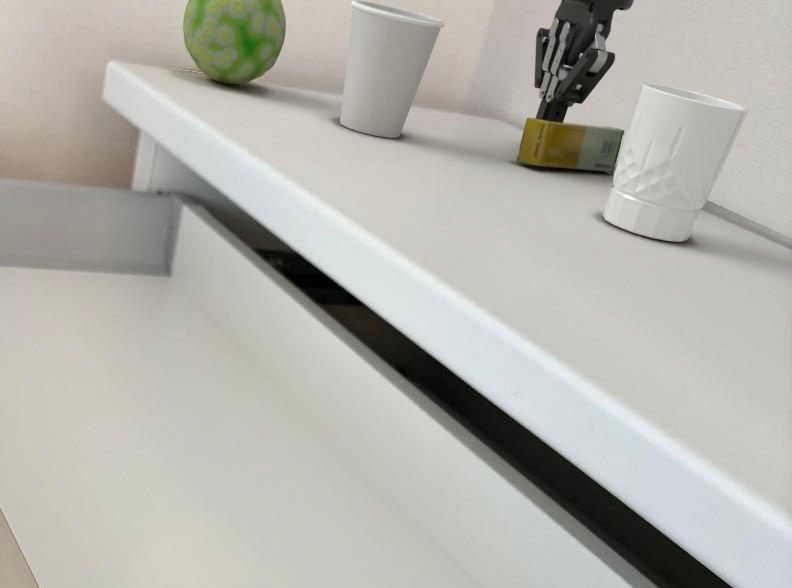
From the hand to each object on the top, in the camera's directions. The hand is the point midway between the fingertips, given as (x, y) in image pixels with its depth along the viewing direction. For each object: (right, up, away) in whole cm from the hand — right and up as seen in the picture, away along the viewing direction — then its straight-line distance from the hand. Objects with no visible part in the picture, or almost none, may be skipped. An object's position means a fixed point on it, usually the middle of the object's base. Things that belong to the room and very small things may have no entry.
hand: (541, 143), depth 106 cm
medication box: (+2, -3, -2) cm, 4 cm away
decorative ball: (-31, +6, +1) cm, 31 cm away
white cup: (+3, -14, -19) cm, 24 cm away
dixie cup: (-17, -1, -5) cm, 18 cm away
